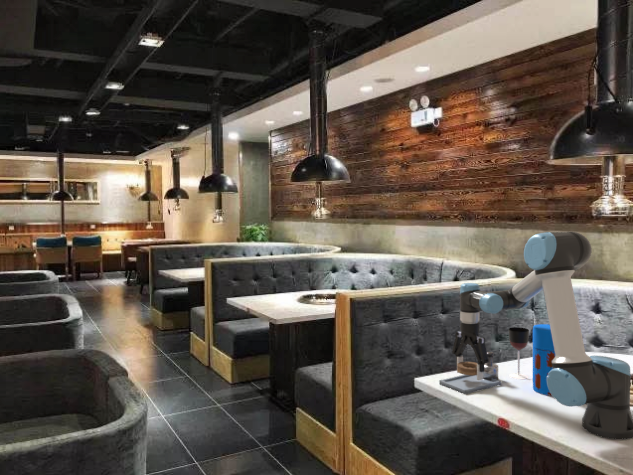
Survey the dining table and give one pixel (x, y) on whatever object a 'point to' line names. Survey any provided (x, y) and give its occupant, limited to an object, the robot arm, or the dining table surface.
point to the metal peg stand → (490, 368)
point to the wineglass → (518, 345)
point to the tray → (468, 383)
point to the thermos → (542, 357)
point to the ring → (467, 368)
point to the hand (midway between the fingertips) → (469, 375)
